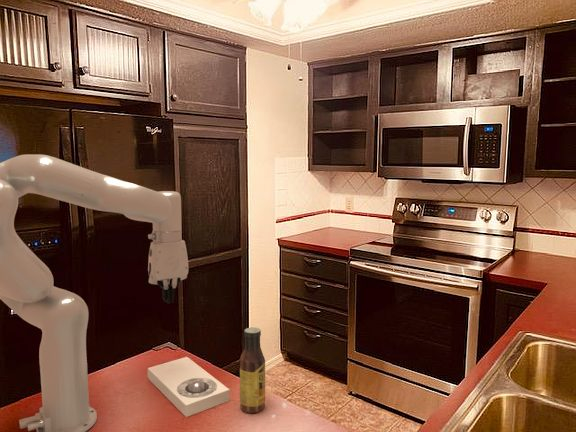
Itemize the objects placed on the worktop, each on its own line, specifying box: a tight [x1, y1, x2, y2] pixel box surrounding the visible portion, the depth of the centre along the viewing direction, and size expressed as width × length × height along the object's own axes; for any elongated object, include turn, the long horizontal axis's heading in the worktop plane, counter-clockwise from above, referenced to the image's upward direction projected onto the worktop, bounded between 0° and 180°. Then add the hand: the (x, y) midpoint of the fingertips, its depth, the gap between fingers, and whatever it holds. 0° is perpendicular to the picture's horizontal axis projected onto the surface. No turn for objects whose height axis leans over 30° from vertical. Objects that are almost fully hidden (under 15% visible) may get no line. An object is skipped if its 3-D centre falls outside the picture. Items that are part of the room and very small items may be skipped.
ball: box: [188, 381, 206, 394], centre depth 116 cm, size 4×4×4 cm
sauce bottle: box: [239, 327, 266, 414], centre depth 112 cm, size 6×6×20 cm
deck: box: [146, 356, 231, 418], centre depth 121 cm, size 12×24×3 cm, turn 38°
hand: (168, 301), depth 126 cm, fingers closed
